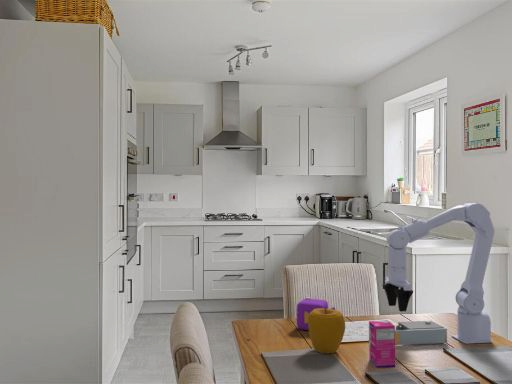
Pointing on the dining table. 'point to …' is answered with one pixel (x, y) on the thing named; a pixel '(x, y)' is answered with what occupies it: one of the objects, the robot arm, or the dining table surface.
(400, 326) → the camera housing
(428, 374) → the dining table surface
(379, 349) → the supplement box
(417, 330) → the side door
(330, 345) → the apple
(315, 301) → the toy camera
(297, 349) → the dining table surface
